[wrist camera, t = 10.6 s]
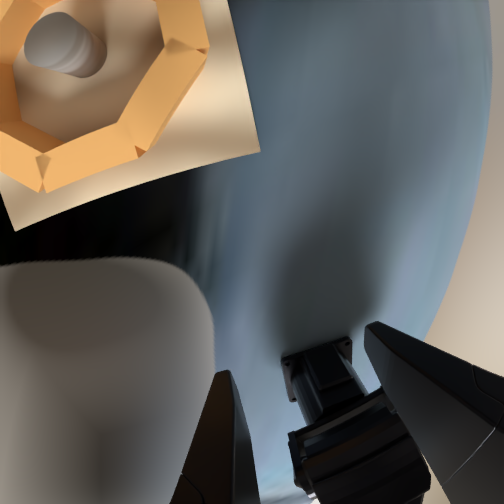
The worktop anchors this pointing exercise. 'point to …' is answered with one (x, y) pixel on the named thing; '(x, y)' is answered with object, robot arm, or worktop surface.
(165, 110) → the orange octagonal ring
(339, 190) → the worktop surface
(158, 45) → the hook stand
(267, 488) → the worktop surface
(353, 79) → the worktop surface
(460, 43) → the worktop surface
